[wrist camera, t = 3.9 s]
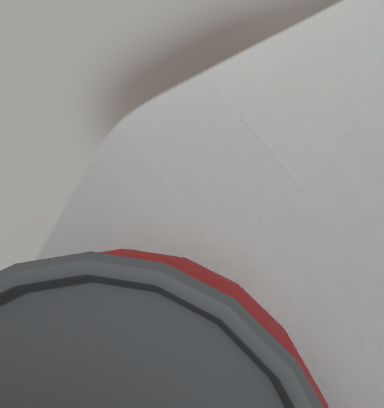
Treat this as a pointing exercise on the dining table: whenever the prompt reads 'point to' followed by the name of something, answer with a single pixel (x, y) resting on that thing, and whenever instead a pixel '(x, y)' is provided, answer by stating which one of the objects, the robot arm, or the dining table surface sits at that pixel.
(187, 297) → the beer can
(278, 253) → the dining table surface
